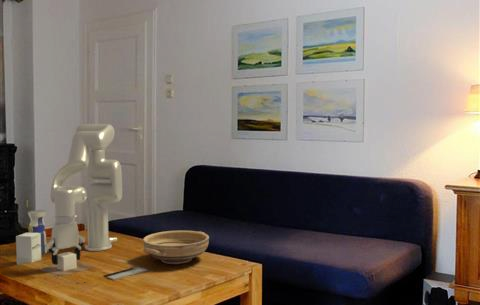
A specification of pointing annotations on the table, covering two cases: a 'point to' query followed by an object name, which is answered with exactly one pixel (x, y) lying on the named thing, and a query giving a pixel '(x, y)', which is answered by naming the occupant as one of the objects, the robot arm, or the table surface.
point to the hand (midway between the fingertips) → (66, 261)
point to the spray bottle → (38, 226)
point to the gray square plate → (125, 273)
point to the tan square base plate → (59, 272)
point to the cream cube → (66, 261)
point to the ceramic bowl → (176, 245)
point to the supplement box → (28, 247)
